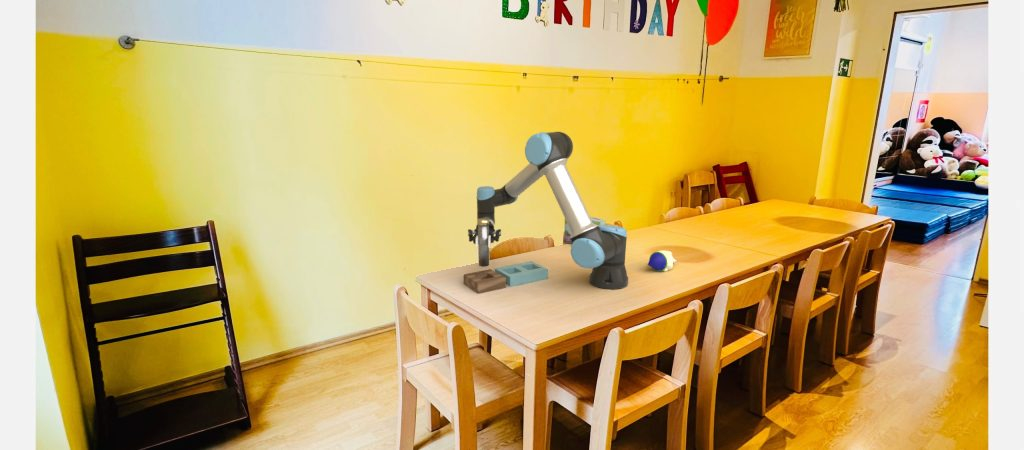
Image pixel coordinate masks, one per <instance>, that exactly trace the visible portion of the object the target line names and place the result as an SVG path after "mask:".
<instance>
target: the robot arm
mask: <svg viewBox="0 0 1024 450" xmlns="http://www.w3.org/2000/svg"><path fill="white" fill-rule="evenodd" d="M573 150H574V144H573V141H572V138H571V137H570V136H569V135H568V134H567V133H565V132H562V131H550V132H549V131H548V132H544V131H543V132H541V131H540V132H538V133H535V134H532V135H531V136H530V137H529V138H528V139H527V141H526V142H525V146H524V154H525V155H524V156H525V158H526V160H527V161H528V164H527V165H525V167H523V169H521V170H520V171H519V172H518V173H517V174H516V175H514V176H513V177H512V178H511V179H510V180H509V181H508V182H507V183H505V184H504V185H503V186H502V187H501V188H497V189H495V188H494V187H493V186H489V185H488V186H487V185H486V186H479V187H477V189H476V215H477V216H476V218H477V219H479V218H488V219H489V238H488V247H489V248H491V244H494V243H495V242H497V243H498V242H499V241H500V237H501V236H502V229H501V228H500V229H495V225H496V218H495V216H496V215H495V211H496V210H495V208H497V207H502V206H506V205H507V206H508V205H512V204H513V203H515V202H517V201H518V198H519V196H520V195H522V194H523V193H524V192H525V191H527V190H528V189H529V188H530V187H531V186H532V185H534V184H535V183H536V182H537V181H538V180H540V179H541V178H542V177H543V176H545V178H546V180H547V182H548V185H549V186H550V190H551V192H552V193H553V195H554V198H555V200H556V201H557V203H558V206H559V208H560V211H561V212H562V215H563V217H564V220H565V219H566V221H567V223H568V226H569V228H570V230H571V236H570V240H571V242H572V244H570V245H571V246H570V250H569V251H570V255H571V259H572V260H573V262H574V263H575V264H576V265H577V266H579V267H580V268H583V269H589V270H590V269H592V270H591V273H590V274H589V283H590V285H592V286H594V287H597V288H600V289H604V290H605V289H606V290H619V289H623V288H625V287H626V288H627V286H628V284H629V277H628V275H627V274H628V273H627V270H626V265H625V264H626V250H627V239H628V235H627V234H628V233H627V230H626V228H624V227H623V226H619V225H612V224H605V225H596V224H594V223H593V222H592V220H591V218H590V217H591V216H590V214H589V212H588V210H587V208H586V206H585V204H584V202H583V199H582V197H581V195H580V193H579V191H578V189H577V187H576V184H575V182H574V180H573V177H572V176H571V174H570V171H569V169H568V167H567V163H568V159H569V158H570V157H571V156H572V153H573ZM477 219H476V220H477ZM467 237H468V241H469V242H473V244H474V245H475V248H478V225H477V224H476V227H475V228H474V229H467Z"/></svg>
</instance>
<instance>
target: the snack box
mask: <svg viewBox="0 0 1024 450" xmlns="http://www.w3.org/2000/svg"><path fill="white" fill-rule="evenodd" d="M590 218H591V220H592V222H593V223H594V224H596V225H606V221H607V220H606V219H602V218H597V217H594V216H590ZM563 236H564V237H563V239H564V242H563V243H565V244H568V245H572V242H571V240H570V236H571V230H570V228H569V226H568V223H567V221H566V219H565V218H564V234H563Z"/></svg>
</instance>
